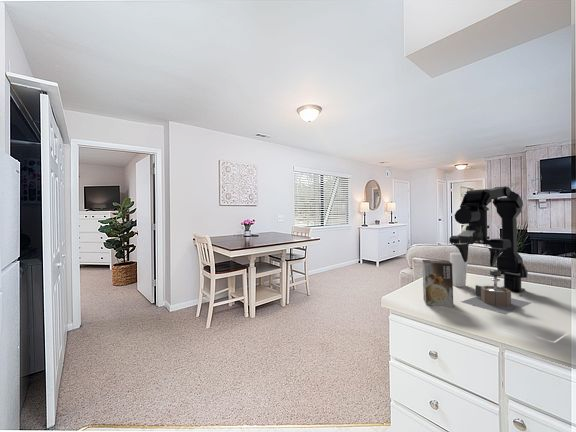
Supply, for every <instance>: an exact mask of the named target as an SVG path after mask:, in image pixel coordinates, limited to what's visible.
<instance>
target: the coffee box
mask: <svg viewBox="0 0 576 432" xmlns="http://www.w3.org/2000/svg"><path fill="white" fill-rule="evenodd" d="M422 291H423V293H422V294H423V301H424V303H425V305H426V306H433V307H434V306H435V307H450V308H454V286H453V275H452V263H451V262H450V260H441V259H422Z"/></svg>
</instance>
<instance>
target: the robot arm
mask: <svg viewBox="0 0 576 432" xmlns="http://www.w3.org/2000/svg"><path fill="white" fill-rule="evenodd" d="M490 203H492V204H493V205H494V207H495V208H496V210H495V211H496V213H497V215H498V216H499V218H501V238H491V239H490V236H488V229H490V225H488V211H490V208H489V207H488V205H489V204H490ZM523 206H524V202H523V199H522V198H521V196H520V194H519V193H517V192H515V191H513V190H512V189H511V187H509V186H495V187H493V188H483V189H469V190H467V191H466V193H465V194H464V195H463V198H462V201H461V204H460V205H459V209H457V210H456V211H455V214H454V217H453V218H454V220H455V221H456V222H457V224H458V223H459V224H461V225H466V226H465V230H464V231H462V232H460V233H458V235H451V236H450V237H449V239H448V243H449V244H452V246H454V247H456V248H457V249H458V252H460V253H461V255H462V258H463V260H464V262H467V263H468V258H469V257H468V256H469V245H473V244H474V245H475V244H476V245H477V244H478V245H485V246H490V247H489V248H488V250H489V254H490V255H489V256H490V258H489V265H490V266H489V267H494V266H495V264H496V268H497V269H496V270H498V271H501V275H503V286H501V287H502V288H507V289H508V290H510V291H511V292H514V293H515V292H516V293H521V292H523V291H525V290H526V289H525V288H523V287H522V279H524V278H525V279H527V278H528V269H527V267H526V265H525V264H524V261H523V257H522V256H521V255H520V254H519V253H518V236H517V235H518V232H517V231H518V228H517V218H518V216H519V215H520V214H521V212H522V209H523Z"/></svg>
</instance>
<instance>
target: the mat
mask: <svg viewBox="0 0 576 432" xmlns="http://www.w3.org/2000/svg"><path fill="white" fill-rule="evenodd" d="M460 302H461V303H463V304H467V305H470V306H472V307H473V306H474V307H477V308H482V309H484V310H485V309H486V310H488V311H492V312H496V313H499V314H503V315H508V314H509V313H510V314H511V313H512V312H515V311H517V310H518V309H521V308H523V307H525V306H528V305H530V304H531V302H528V301H525V300H521V299H516V298H512V297H511V305H510V306H506V307H505V306H494V305H490V304H487V303H484V302H483V301H482V300H481V297H479V296H476V295H475V296H474V297H472V298H468V299H465V300H462V301H460Z"/></svg>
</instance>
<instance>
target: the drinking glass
mask: <svg viewBox="0 0 576 432" xmlns="http://www.w3.org/2000/svg"><path fill="white" fill-rule="evenodd" d="M449 262H451V263H452V275H453V287H457V288H458V287H459V288H465V287H466V285H467V273H468V261H467V262H464V260H463V258H462V255H461V253H460V251H457V252H456V251H455V252H454V251H452V252H449Z"/></svg>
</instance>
